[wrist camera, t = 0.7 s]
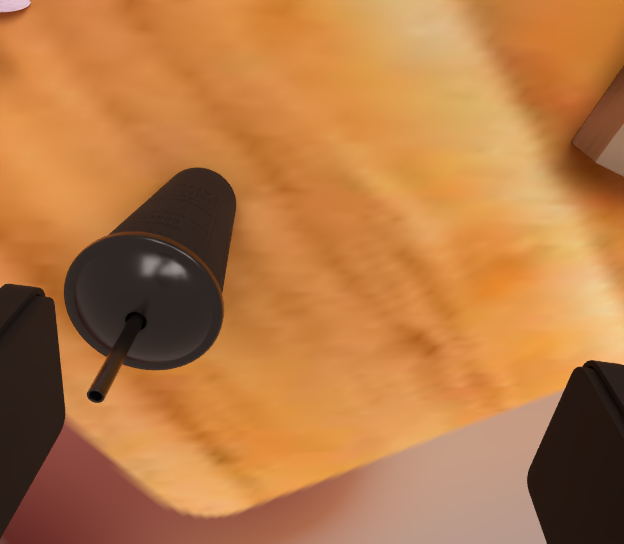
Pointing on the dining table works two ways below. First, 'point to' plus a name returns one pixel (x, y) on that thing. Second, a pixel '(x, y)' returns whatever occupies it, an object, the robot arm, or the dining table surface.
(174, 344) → the drinking cup
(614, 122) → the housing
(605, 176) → the dining table surface
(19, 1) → the water lily
